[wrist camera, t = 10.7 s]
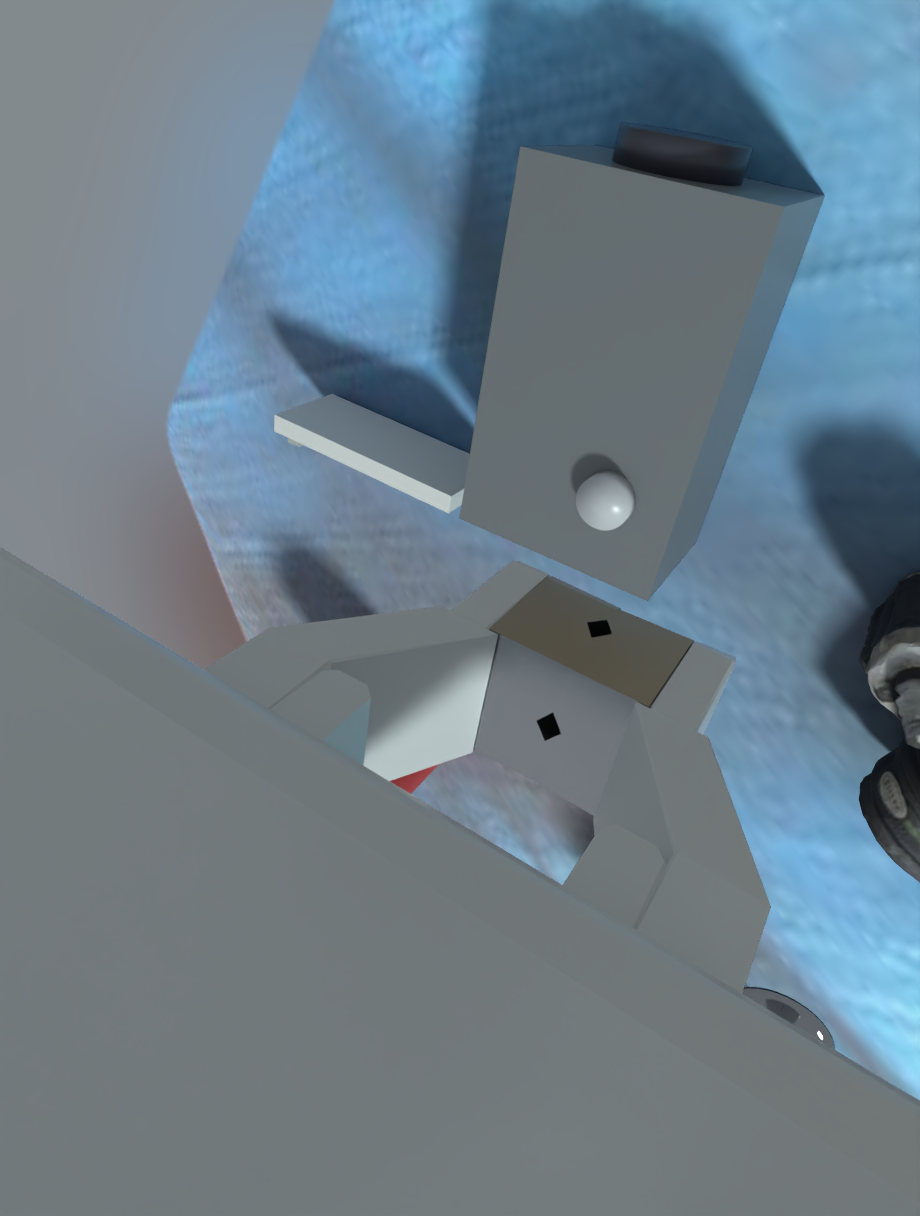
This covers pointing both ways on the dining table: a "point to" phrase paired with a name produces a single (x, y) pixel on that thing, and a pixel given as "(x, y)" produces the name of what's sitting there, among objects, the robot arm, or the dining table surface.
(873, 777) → the camera
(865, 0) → the dining table surface
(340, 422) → the side door
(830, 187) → the dining table surface
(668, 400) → the block
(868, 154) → the dining table surface
